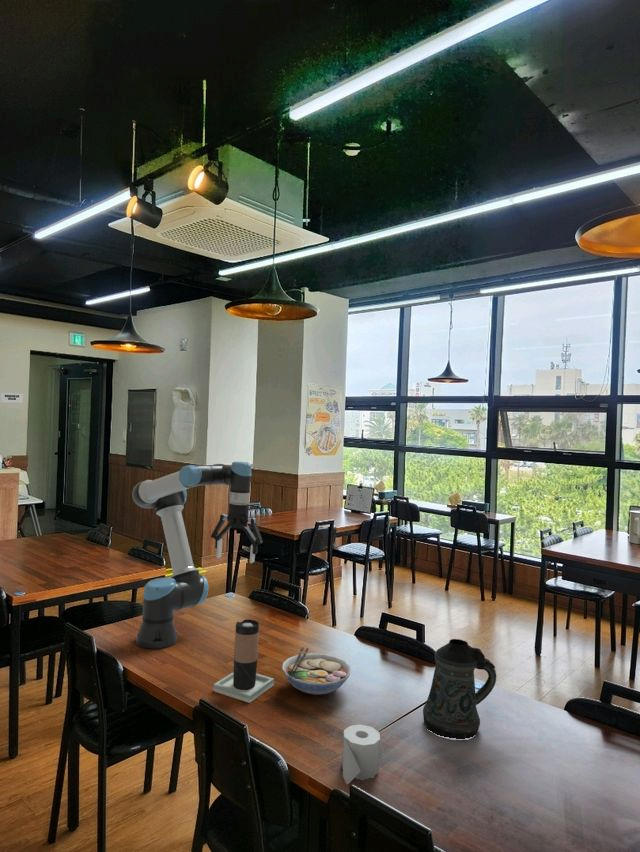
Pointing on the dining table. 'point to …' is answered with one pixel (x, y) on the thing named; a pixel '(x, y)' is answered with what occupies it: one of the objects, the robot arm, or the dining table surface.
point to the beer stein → (457, 690)
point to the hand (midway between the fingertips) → (235, 559)
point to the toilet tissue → (360, 752)
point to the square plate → (228, 689)
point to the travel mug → (245, 654)
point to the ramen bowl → (316, 672)
